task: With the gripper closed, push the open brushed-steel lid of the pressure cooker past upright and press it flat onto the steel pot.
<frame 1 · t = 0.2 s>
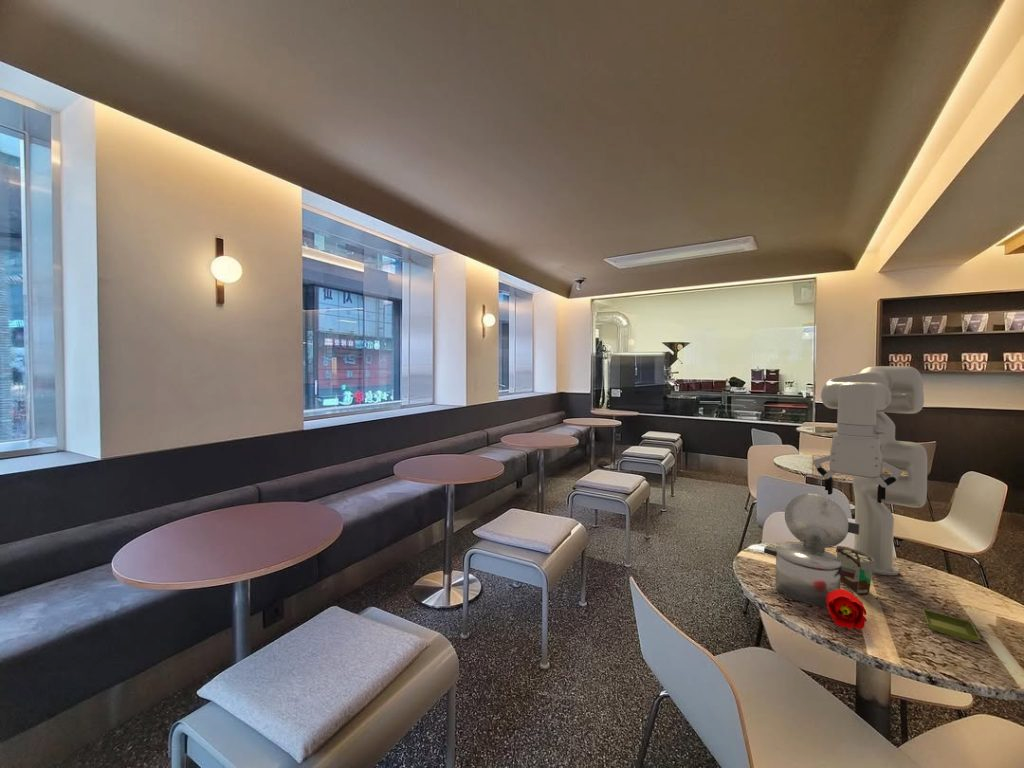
hand: (853, 497, 103), 31 cm above the table, tool pointing down, fingers open, 9 cm apart
flower: (843, 621, 102), on the table
cooker pot: (806, 591, 116), on the table
green shallow tray: (949, 631, 99), on the table
food container: (859, 588, 119), on the table
cooker lid: (820, 522, 122), point 18 cm above the table, hinge at 98.0°
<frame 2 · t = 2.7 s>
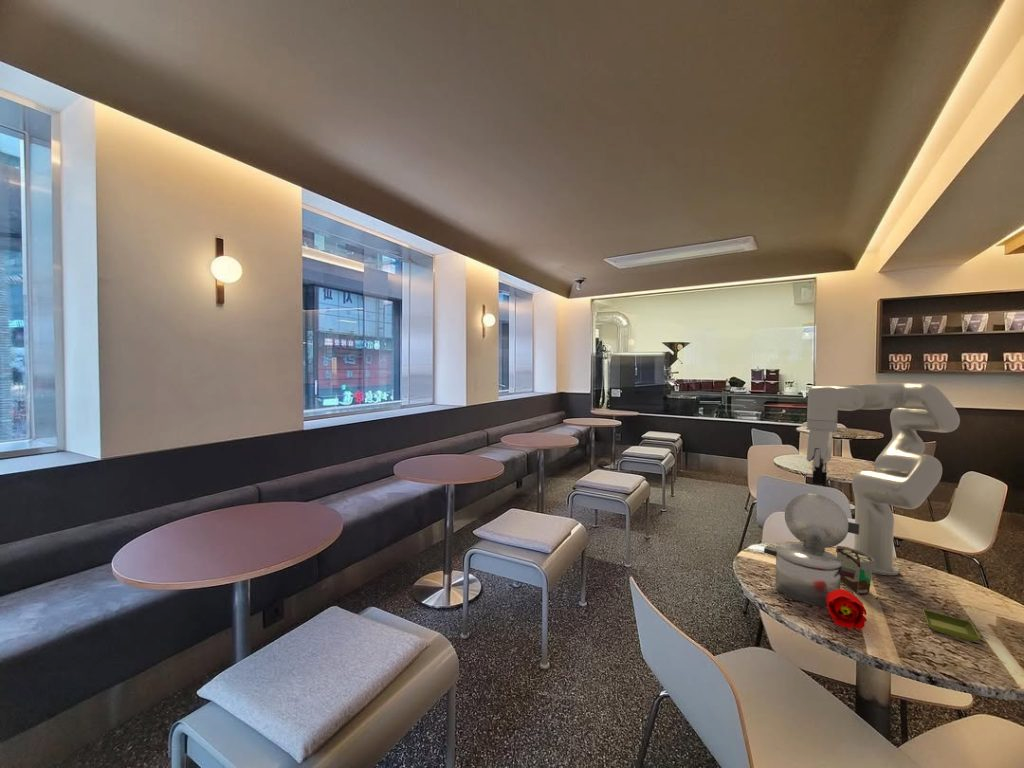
hand: (819, 484, 126), 29 cm above the table, tool pointing down, fingers closed
nothing on the table moved.
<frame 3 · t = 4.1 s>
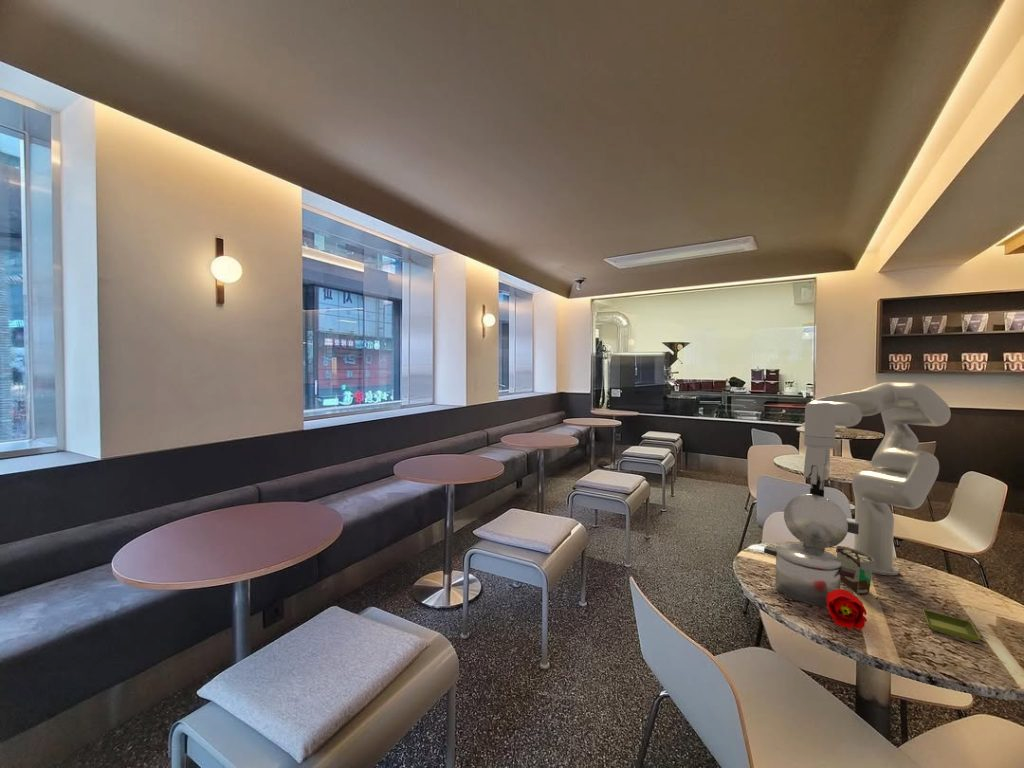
hand: (816, 501, 123), 24 cm above the table, tool pointing down, fingers closed
cooker lid: (819, 522, 121), point 18 cm above the table, hinge at 90.5°, touching gripper
everything else where it was.
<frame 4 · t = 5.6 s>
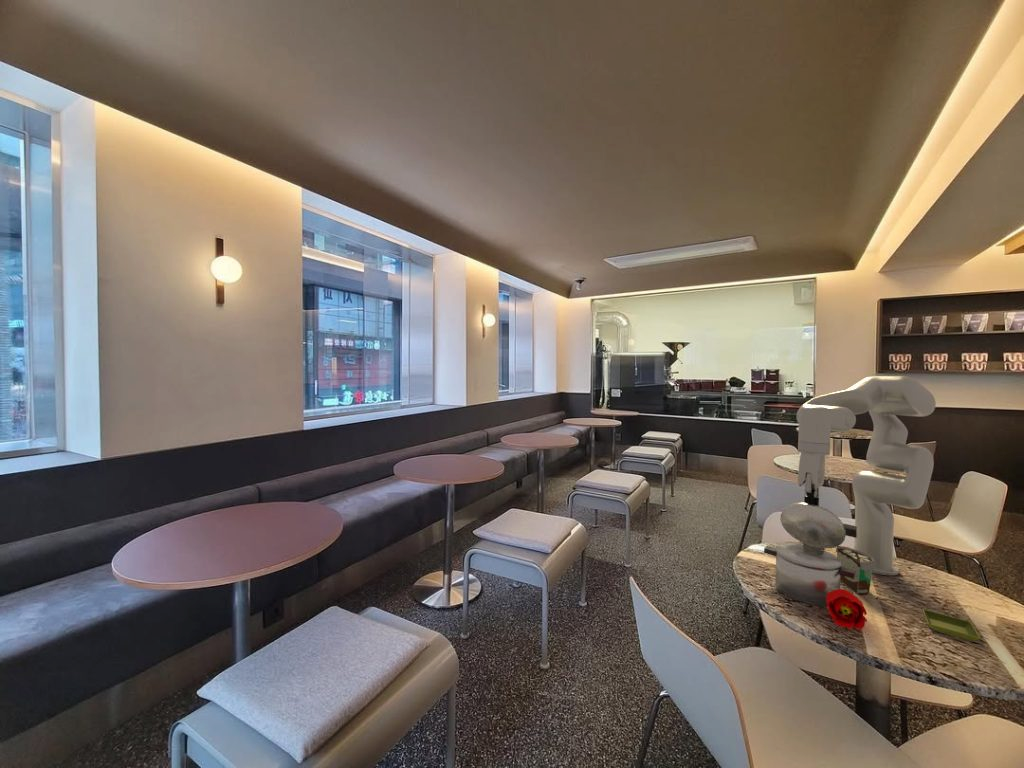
hand: (811, 510, 118), 23 cm above the table, tool pointing down, fingers closed
cooker lid: (817, 525, 119), point 18 cm above the table, hinge at 61.8°, touching gripper
everything else where it was.
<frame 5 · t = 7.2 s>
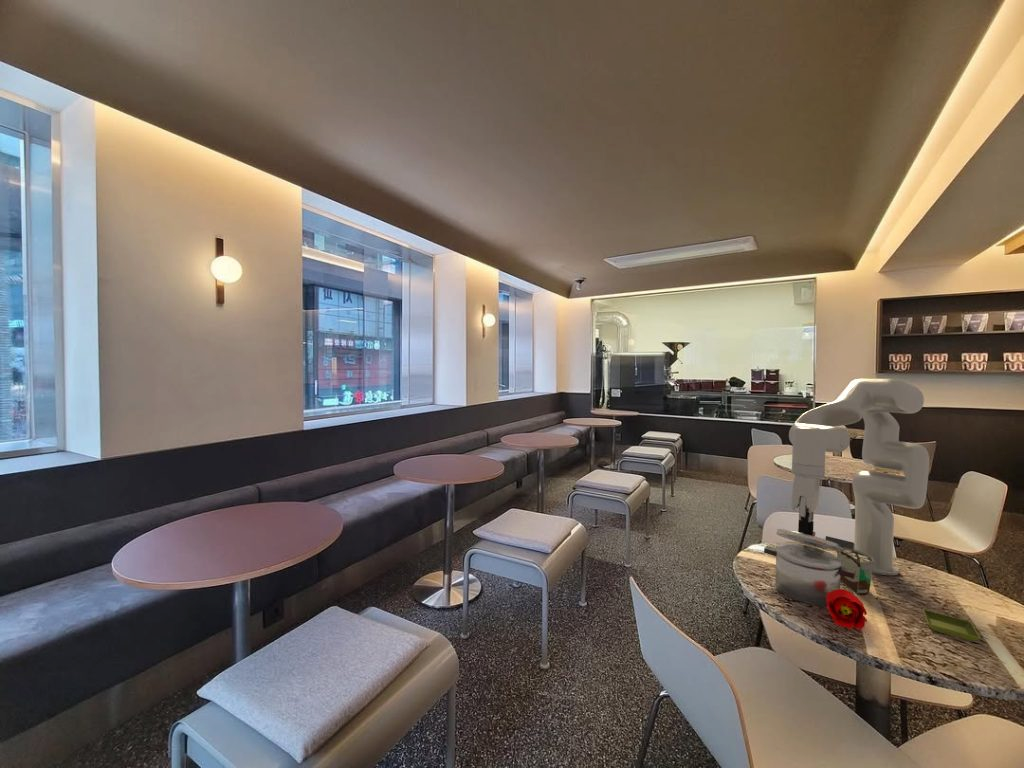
hand: (805, 534, 114), 17 cm above the table, tool pointing down, fingers closed
cooker lid: (813, 538, 116), point 16 cm above the table, hinge at 23.7°, touching gripper
everything else where it was.
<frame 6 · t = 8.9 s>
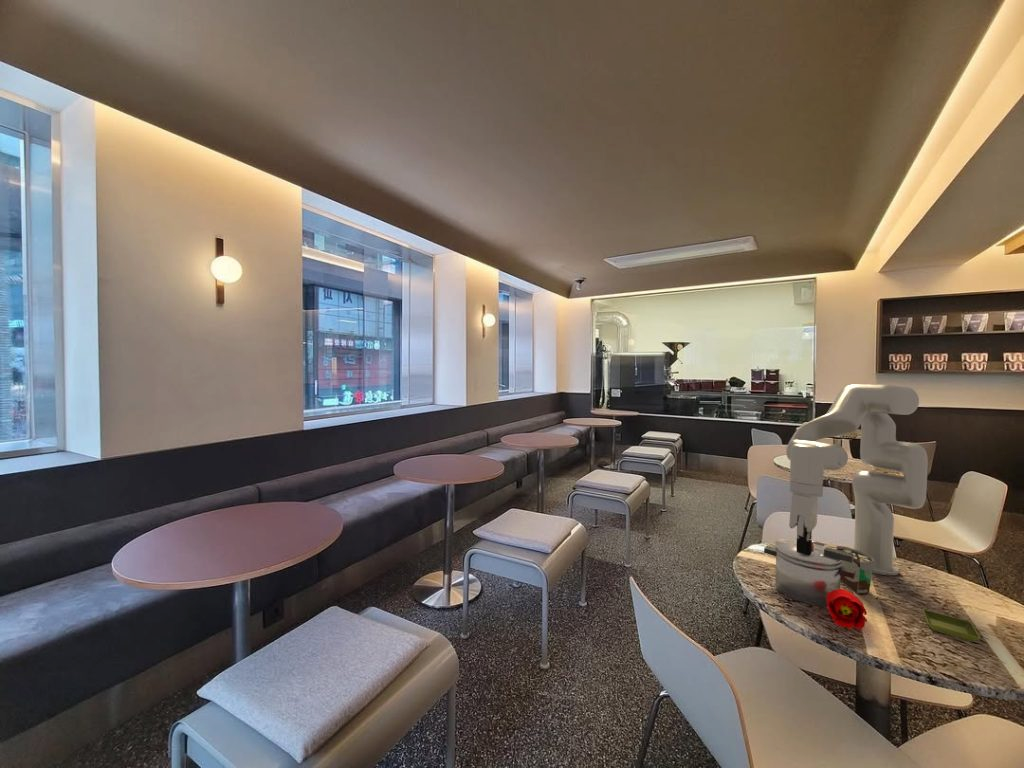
hand: (803, 553, 113), 12 cm above the table, tool pointing down, fingers closed
cooker lid: (812, 548, 115), point 13 cm above the table, hinge at 0.7°, touching gripper
everything else where it was.
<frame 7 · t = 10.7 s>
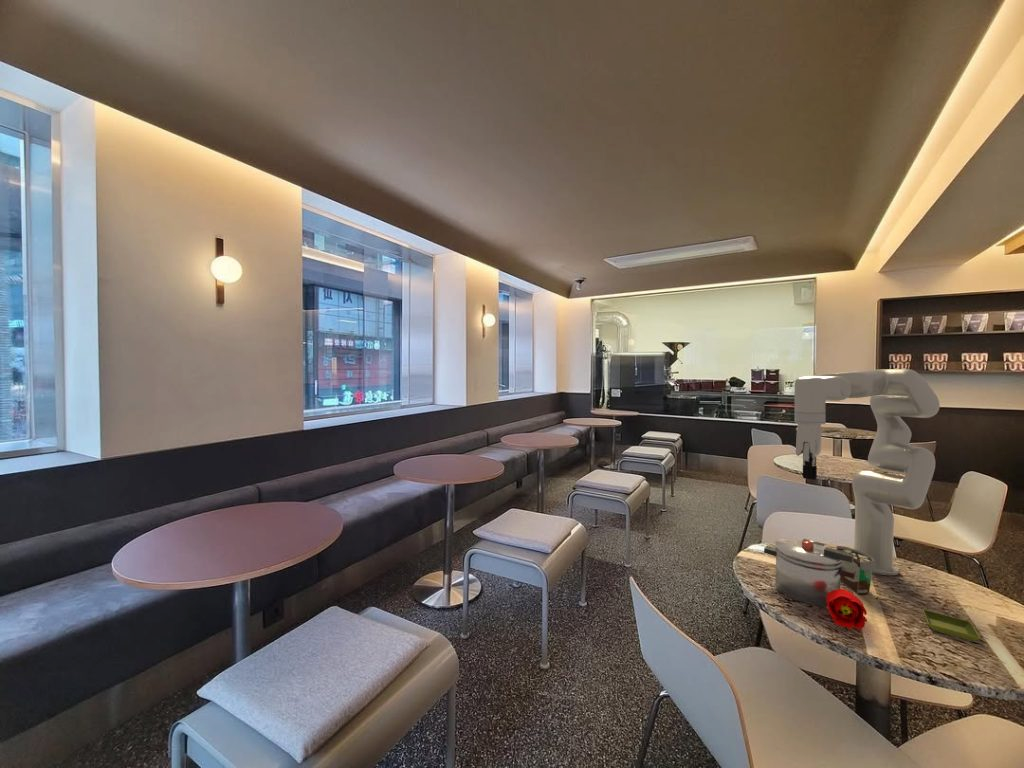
hand: (809, 478, 121), 32 cm above the table, tool pointing down, fingers closed
cooker lid: (812, 548, 115), point 13 cm above the table, hinge at 0.7°
everything else where it was.
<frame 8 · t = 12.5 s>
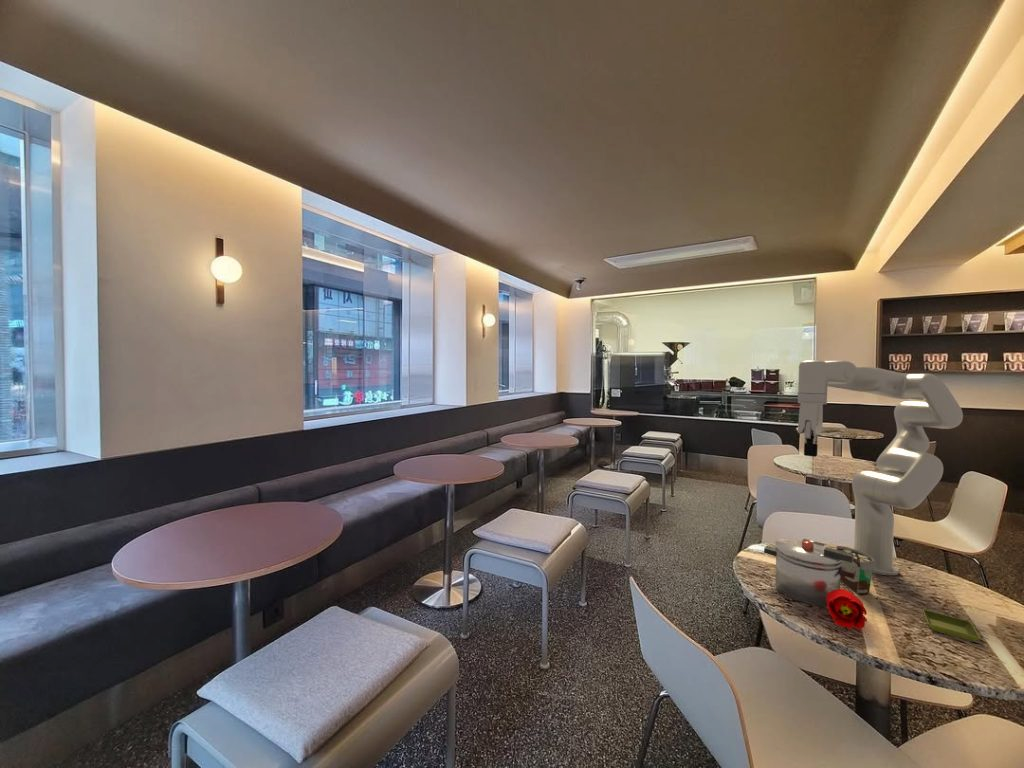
hand: (810, 455, 129), 37 cm above the table, tool pointing down, fingers closed
nothing on the table moved.
at the end: cooker lid at +1° (first picture: +98°); flower moved 0.4 cm from its start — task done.
